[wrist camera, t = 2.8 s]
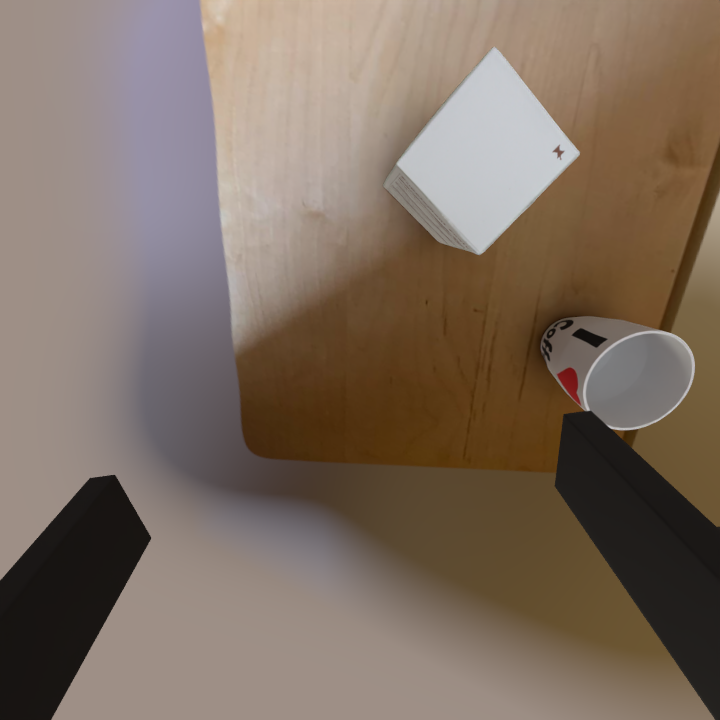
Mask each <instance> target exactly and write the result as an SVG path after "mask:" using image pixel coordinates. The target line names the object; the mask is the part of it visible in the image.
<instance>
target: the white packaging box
mask: <svg viewBox="0 0 720 720" xmlns="http://www.w3.org/2000/svg"><path fill="white" fill-rule="evenodd" d="M579 154H580V152H579V151H578V150H577V148H576V147H575V146H574V145H573V144H572V142H571V141H570V140H569V139H568V138H567V136H566V135H565V134H564V133H563V131H562V130H561V129H560V128H559V127H558V125H557V124H556V123H555V121H554V120H553V119H552V118H551V116H550V115H549V114H548V112H547V111H546V110H545V108H544V107H543V106H542V105H541V103H540V102H539V101H538V100H537V98H536V97H535V96H534V94H533V93H532V92H531V91H530V89H529V88H528V87H527V86H526V84H525V83H524V82H523V80H522V79H521V78H520V77H519V75H518V74H517V73H516V72H515V70H514V69H513V68H512V67H511V65H510V64H509V62H508V61H507V60H506V59H505V58H504V56H503V55H502V54H501V53H500V52H499V50H498V49H497V48H496V47H493V48H492V49H491V50H490V51H489V52H488V53H487V54H486V55H485V56H484V57H483V58H482V60H481V61H480V62H479V63H478V64H477V65H476V66H475V67H474V69H473V70H472V71H471V72H470V73H469V74H468V75H467V77H466V78H465V79H464V80H463V81H462V82H461V83H460V84H459V86H458V87H457V88H456V89H455V90H454V91H453V93H452V94H451V95H450V96H449V97H448V98H447V100H446V101H445V102H444V103H443V104H442V106H441V107H440V108H439V109H438V110H437V112H436V113H435V114H434V115H433V116H432V118H431V119H430V120H429V121H428V122H427V124H426V125H425V126H424V127H423V129H422V130H421V131H420V133H419V134H418V135H417V136H416V138H415V139H414V140H413V141H412V143H411V144H410V145H409V147H408V148H407V149H406V150H405V152H404V153H403V154H402V156H401V157H400V158H399V160H398V161H397V163H396V164H395V166H394V167H393V169H392V170H391V172H390V173H389V175H388V176H387V178H386V180H385V182H384V183H383V187H384V188H386V189H387V190H388V191H389V192H390V193H391V194H392V195H393V196H394V197H395V198H396V199H397V200H398V202H399V203H400V204H401V205H402V206H403V207H404V208H405V209H406V210H407V211H408V212H409V213H410V214H411V215H412V216H413V217H414V218H415V219H416V220H417V221H418V222H419V223H420V224H421V225H422V226H423V227H424V228H425V229H426V230H427V231H428V232H429V233H430V234H431V235H432V236H433V237H434V238H435V239H436V240H437V241H438V242H440V243H443V244H445V245H449V246H452V247H456V248H459V249H463V250H467V251H470V252H473V253H475V254H477V255H480V254H482V253H483V252H484V251H485V250H486V249H487V248H488V247H489V246H490V245H491V244H492V243H493V242H494V241H495V240H496V239H497V238H498V237H499V236H500V235H501V234H502V233H503V232H504V231H505V230H506V229H507V228H508V227H509V226H510V225H511V224H512V223H513V222H514V221H515V220H516V219H517V218H518V217H519V216H520V215H521V214H522V213H523V212H524V211H525V210H526V209H527V208H528V207H529V206H530V205H531V204H532V203H533V202H534V201H535V200H536V198H537V197H538V196H539V195H540V194H541V193H542V192H543V191H544V190H545V189H546V188H547V187H548V186H549V185H550V184H551V183H552V182H553V181H554V180H555V179H556V178H557V177H558V176H559V175H560V174H561V173H562V172H563V171H564V170H565V169H566V168H567V167H568V166H569V165H570V164H571V163H572V162H573V161H574V160H575V159H576V158H577V157H578V156H579Z"/></svg>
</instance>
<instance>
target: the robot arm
mask: <svg viewBox="0 0 720 720" xmlns="http://www.w3.org/2000/svg"><path fill="white" fill-rule="evenodd" d="M555 487H556V489H557V490H558V492H559V493H560V494H561V496H562V497H563V499H564V500H565V502H566V503H567V505H568V506H569V508H570V509H571V510H572V512H573V513H574V515H575V516H576V518H577V519H578V521H579V522H580V523H581V525H582V526H583V528H584V529H585V531H586V532H587V533H588V535H589V537H590V538H591V540H592V541H593V542H594V544H595V545H596V547H597V548H598V550H599V551H600V553H601V554H602V555H603V557H604V558H605V560H606V561H607V563H608V564H609V566H610V567H611V569H612V570H613V572H614V573H615V574H616V576H617V577H618V579H619V580H620V582H621V583H622V585H623V586H624V588H625V589H626V590H627V592H628V593H629V595H630V596H631V598H632V599H633V601H634V602H635V603H636V605H637V606H638V608H639V609H640V611H641V612H642V614H643V615H644V617H645V618H646V620H647V621H648V622H649V624H650V625H651V627H652V628H653V630H654V631H655V633H656V634H657V636H658V637H659V638H660V640H661V641H662V643H663V644H664V646H665V647H666V649H667V650H668V652H669V653H670V654H671V656H672V657H673V659H674V660H675V662H676V663H677V665H678V666H679V668H680V669H681V671H682V672H683V673H684V675H685V676H686V678H687V679H688V681H689V682H690V683H691V685H692V687H693V688H694V689H695V691H696V692H697V694H698V695H699V696H700V698H701V700H702V701H703V703H704V704H705V705H706V707H707V708H708V710H709V711H710V713H711V714H712V715H713V717H714V719H715V720H720V527H716V526H715V525H714V524H713V523H712V522H710V521H709V520H708V519H707V518H706V517H705V516H704V515H703V514H702V513H701V512H700V511H699V510H698V509H697V508H695V507H694V506H693V505H692V504H691V503H690V502H689V501H688V500H687V499H686V498H685V497H684V496H683V495H682V494H680V493H679V492H678V491H677V490H676V489H675V488H674V487H673V486H672V485H671V484H669V482H668V481H666V480H665V479H664V478H663V477H662V476H661V475H660V474H659V473H658V472H657V471H656V470H655V469H654V468H652V467H651V466H650V465H649V464H648V463H647V462H646V461H645V460H644V459H643V458H642V457H641V456H640V455H638V454H637V453H636V452H635V451H634V450H633V449H632V448H631V447H630V446H629V445H628V444H627V443H626V442H624V441H623V440H622V439H621V438H620V437H619V436H618V435H617V434H616V433H615V432H614V431H613V430H612V429H610V428H609V427H608V426H607V425H606V424H605V423H604V422H603V421H602V420H601V419H600V418H599V417H598V416H596V415H595V414H594V413H593V412H592V411H583V412H576V413H569V414H564V416H563V424H562V432H561V440H560V448H559V456H558V464H557V473H556V481H555ZM150 540H151V537H150V535H149V533H148V531H147V530H146V528H145V526H144V524H143V523H142V521H141V520H140V517H139V516H138V514H137V512H136V510H135V509H134V507H133V505H132V504H131V502H130V500H129V498H128V497H127V495H126V493H125V491H124V490H123V488H122V486H121V484H120V483H119V481H118V479H117V478H116V476H115V475H110V476H103V477H95V478H90V479H89V480H88V481H87V482H86V483H85V484H84V486H83V487H82V488H81V489H80V490H79V491H78V492H77V493H76V495H75V496H74V497H73V498H72V499H71V500H70V502H69V503H68V504H67V505H66V506H65V507H64V508H63V509H62V511H61V512H60V513H59V514H58V515H57V516H56V518H55V519H54V520H53V521H52V522H51V523H50V524H49V525H48V527H47V528H46V529H45V530H44V531H43V532H42V533H41V535H40V536H39V537H38V538H37V539H36V540H35V541H34V543H33V544H32V545H31V546H30V547H29V548H28V549H27V551H26V552H25V553H24V554H23V555H22V556H21V558H20V559H19V560H18V561H17V562H16V563H15V565H13V567H12V568H11V569H10V570H9V571H8V572H7V574H6V575H5V576H4V577H3V578H2V579H1V580H0V720H51V719H52V717H53V715H54V713H55V712H56V710H57V708H58V706H59V704H60V703H61V701H62V699H63V697H64V695H65V693H66V692H67V690H68V688H69V686H70V684H71V683H72V681H73V679H74V677H75V675H76V674H77V672H78V670H79V668H80V666H81V664H82V663H83V661H84V659H85V657H86V656H87V654H88V652H89V650H90V648H91V646H92V644H93V643H94V641H95V639H96V637H97V635H98V634H99V632H100V630H101V628H102V627H103V625H104V623H105V621H106V619H107V617H108V616H109V614H110V612H111V610H112V608H113V607H114V605H115V603H116V601H117V599H118V598H119V596H120V594H121V592H122V590H123V589H124V587H125V585H126V583H127V581H128V580H129V578H130V576H131V574H132V572H133V570H134V569H135V567H136V565H137V563H138V561H139V560H140V558H141V556H142V554H143V552H144V550H145V549H146V547H147V545H148V543H149V542H150Z"/></svg>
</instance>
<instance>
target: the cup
mask: <svg viewBox="0 0 720 720" xmlns="http://www.w3.org/2000/svg"><path fill="white" fill-rule="evenodd" d="M541 352H542V355H543V357H544V360H545V362H546V365H547V367H548V369H549V371H550V372H551V373H552V375H553V376H554V377H555V379H556V380H557V381H558V383H559V384H560V385H561V387H562V388H563V389H564V391H565V392H566V393H567V394H568V395H569V396H570V397H571V398H572V399H573V400H574V401H575V402H576V403H577V404H578V405H579V406H581V407H582V408H583V409H584V410H585V411H592V412H593V413H594V414H595V415H596V416H598V417H599V418H600V419H601V420H602V421H603V422H604V423H605V424H606V425H607V426H608V427H609V428H611V429H616V430H632V429H638V428H642V427H645V426H648V425H650V424H652V423H655V422H657V421H658V420H660V419H662V418H663V417H665V416H666V415H667V414H669V413H670V412H671V411H672V410H674V409H675V408H676V406H678V405H679V403H680V402H681V401H682V400H683V398H684V397H685V395H686V394H687V392H688V390H689V388H690V386H691V384H692V381H693V377H694V371H695V364H694V357H693V354H692V352H691V350H690V348H689V347H688V345H687V344H686V343H685V342H684V341H683V340H682V339H680V338H679V337H677V336H675V335H674V334H671V333H668V332H664V331H661V330H657V329H653V328H650V327H646V326H642V325H639V324H635V323H631V322H628V321H624V320H617V319H609V318H601V317H593V316H582V317H571V318H564V319H561V320H559V321H557V322H555V323H554V324H552V325H551V326H550V327H549V328H548V329H547V330H546V332H545V333H544V335H543V337H542V340H541Z"/></svg>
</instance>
